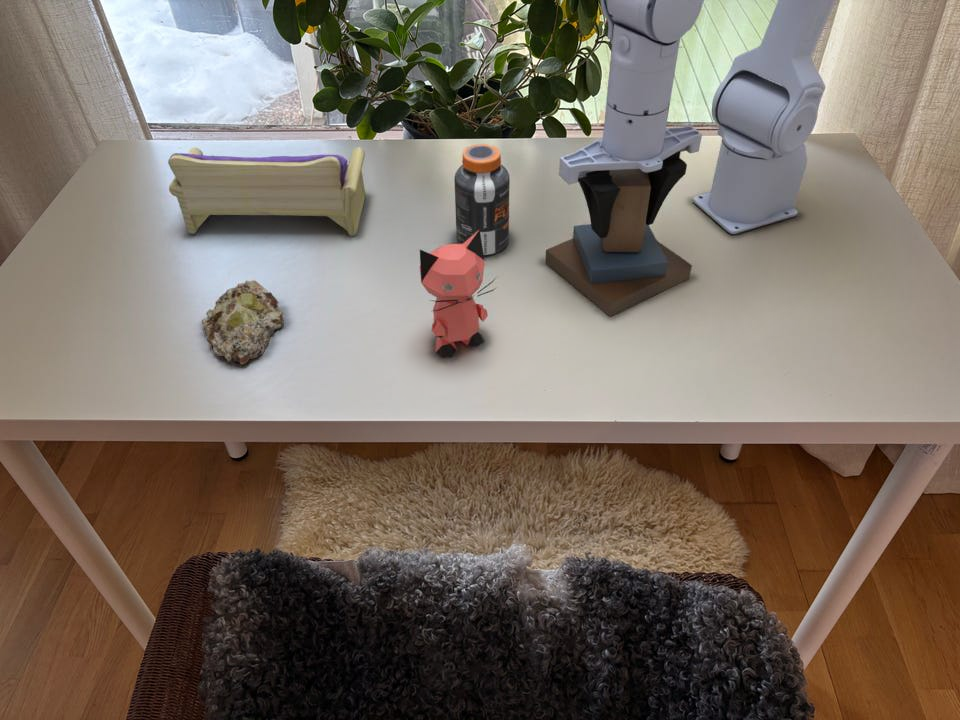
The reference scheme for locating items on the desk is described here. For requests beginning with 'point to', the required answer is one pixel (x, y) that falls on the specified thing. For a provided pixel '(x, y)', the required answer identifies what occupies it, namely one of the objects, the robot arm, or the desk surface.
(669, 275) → the base slab
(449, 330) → the cat figurine
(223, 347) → the mineral rock
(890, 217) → the desk surface
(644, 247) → the top tile
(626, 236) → the wooden block
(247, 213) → the toy sofa
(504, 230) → the pill bottle
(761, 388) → the desk surface
